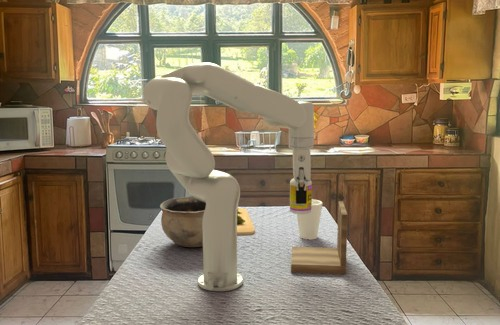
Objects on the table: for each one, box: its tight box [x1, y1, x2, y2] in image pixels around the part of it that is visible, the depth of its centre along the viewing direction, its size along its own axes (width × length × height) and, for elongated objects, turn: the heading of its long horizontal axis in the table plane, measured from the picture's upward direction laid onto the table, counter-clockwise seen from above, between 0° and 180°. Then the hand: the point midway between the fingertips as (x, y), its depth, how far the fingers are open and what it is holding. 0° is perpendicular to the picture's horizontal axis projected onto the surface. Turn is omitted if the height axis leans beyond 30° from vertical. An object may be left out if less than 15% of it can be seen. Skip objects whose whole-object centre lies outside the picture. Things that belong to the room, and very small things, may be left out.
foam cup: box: [296, 198, 323, 241], centre depth 183 cm, size 10×9×13 cm
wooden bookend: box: [290, 200, 348, 275], centre depth 156 cm, size 16×16×18 cm
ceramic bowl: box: [159, 196, 206, 248], centre depth 175 cm, size 22×22×15 cm
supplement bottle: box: [289, 172, 313, 215], centre depth 155 cm, size 7×7×13 cm
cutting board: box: [237, 207, 256, 236], centre depth 203 cm, size 35×23×8 cm
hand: (300, 200), depth 155 cm, fingers closed on supplement bottle, 6 cm apart
